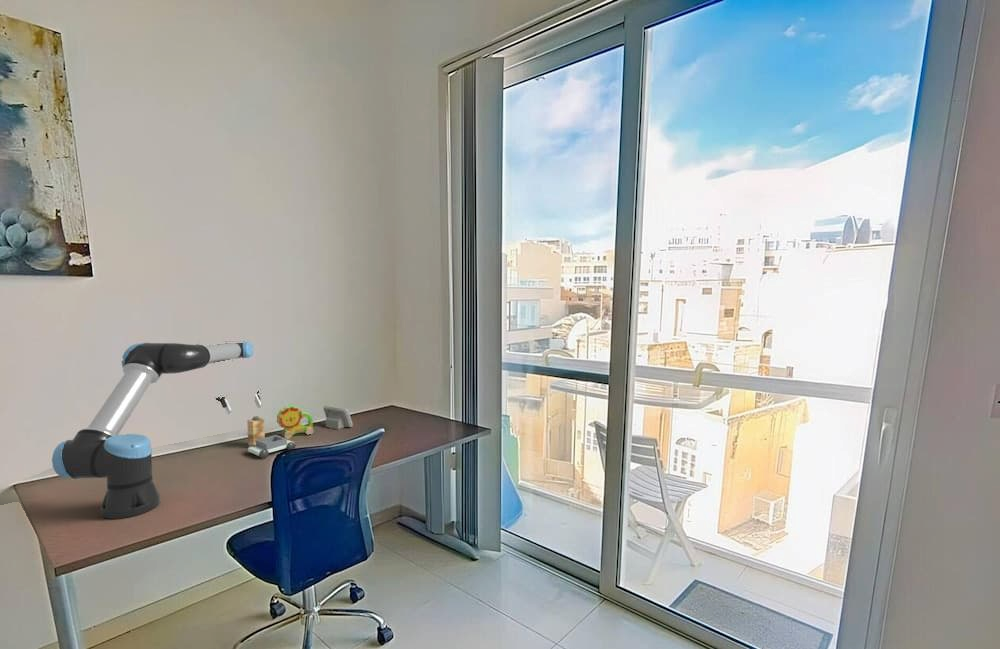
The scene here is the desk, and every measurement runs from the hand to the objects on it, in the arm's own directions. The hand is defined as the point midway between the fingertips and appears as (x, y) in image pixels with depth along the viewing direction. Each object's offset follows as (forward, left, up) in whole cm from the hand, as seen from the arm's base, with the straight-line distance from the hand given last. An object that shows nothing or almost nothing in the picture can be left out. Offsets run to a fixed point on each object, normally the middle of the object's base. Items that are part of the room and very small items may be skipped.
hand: (245, 409), depth 219 cm
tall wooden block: (+7, -6, -15) cm, 18 cm away
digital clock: (+36, +22, -15) cm, 45 cm away
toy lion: (+20, +7, -15) cm, 26 cm away
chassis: (+17, -15, -15) cm, 27 cm away
